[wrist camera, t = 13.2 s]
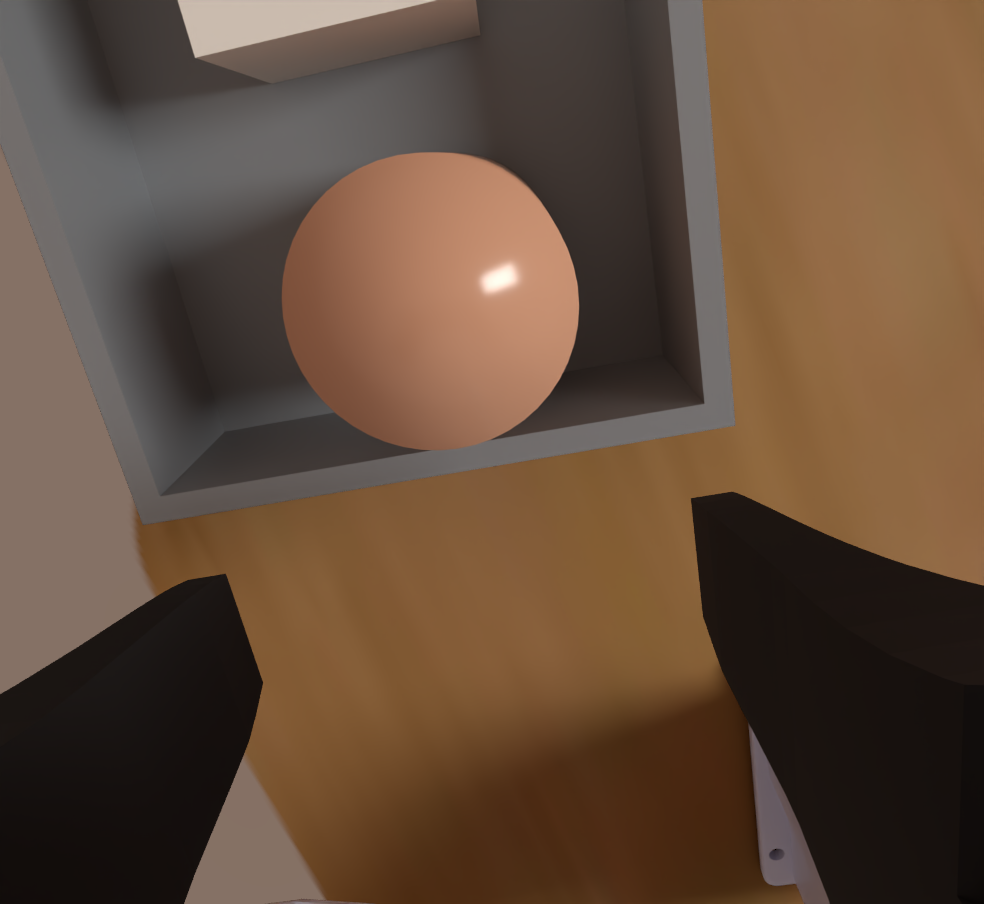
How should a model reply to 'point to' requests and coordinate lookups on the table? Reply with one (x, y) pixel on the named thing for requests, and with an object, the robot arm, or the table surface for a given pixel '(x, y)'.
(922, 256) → the table surface
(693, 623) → the table surface
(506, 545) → the table surface
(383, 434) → the brown egg
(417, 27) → the cube
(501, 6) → the box
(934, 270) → the table surface
